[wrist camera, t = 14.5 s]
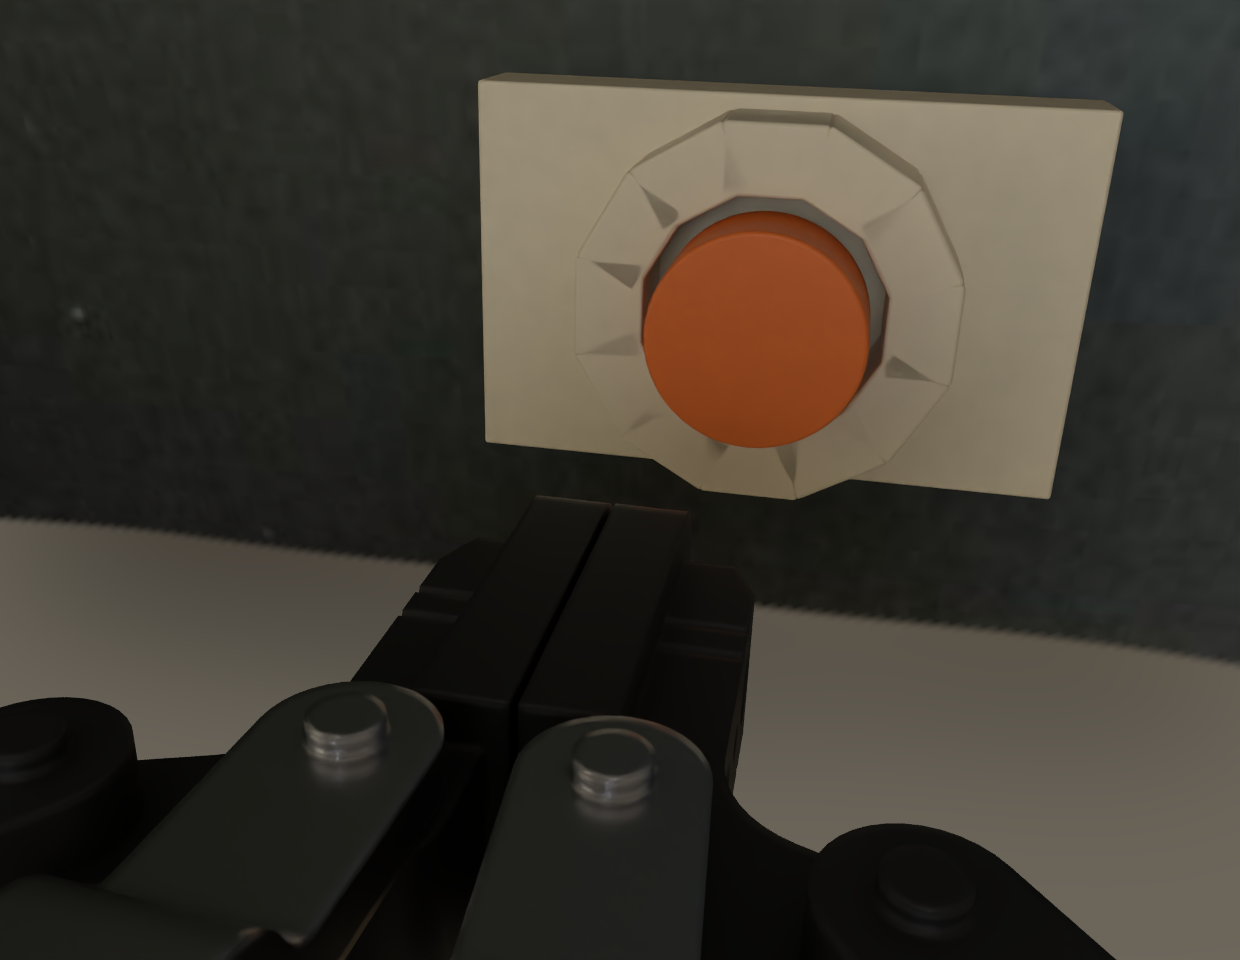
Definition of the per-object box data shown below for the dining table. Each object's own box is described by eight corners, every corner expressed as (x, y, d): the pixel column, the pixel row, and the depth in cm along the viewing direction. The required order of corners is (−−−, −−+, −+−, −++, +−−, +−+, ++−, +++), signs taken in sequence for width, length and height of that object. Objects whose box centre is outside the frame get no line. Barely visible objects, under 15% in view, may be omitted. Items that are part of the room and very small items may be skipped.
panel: (508, 414, 25) (456, 477, 22) (504, 72, 23) (443, 89, 20) (1039, 465, 24) (1064, 543, 20) (1107, 99, 21) (1147, 124, 18)
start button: (656, 403, 21) (639, 438, 20) (665, 202, 20) (646, 223, 18) (858, 422, 21) (856, 460, 19) (881, 216, 19) (882, 239, 18)
